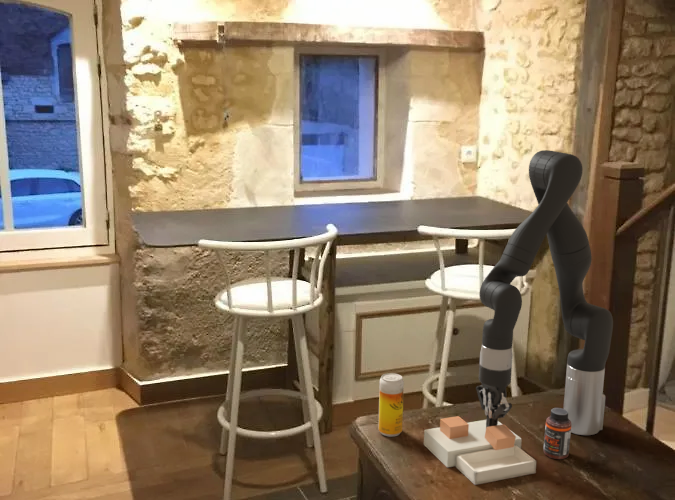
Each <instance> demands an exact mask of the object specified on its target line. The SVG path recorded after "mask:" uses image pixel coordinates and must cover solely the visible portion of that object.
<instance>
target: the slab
mask: <svg viewBox="0 0 675 500" xmlns="http://www.w3.org/2000/svg"><path fill="white" fill-rule="evenodd" d="M467 423H468V424H469V428H468V436H465V437H459V438H453V439H449V438H448V437H447V436H446V435H445V434H444V433H442V432H441V431H440V426H439V427H433V428H428V429H424V431H423V446H424V447H426V448H427V449H428V450H429V451H430V452H431V454H433V455H434V456H435V458H437V459H438V460H439V461H440V462H441V463H442V464H443V465H444V466H445V467H446V468H452V467H456V455H461V454H466V453H472V452H477V451H483V450H489V449H494V448H493V447H492V446H491V445H490V443H489V442H488V441H487V440H486V439H485V432H486V419H481V420H477V421H470V422H467ZM502 424H503V423H501V422H500V421H499V420H498V424H497V425H502ZM509 430H510V431H511V432H512V433H513V434H514V435H515V436H516V438H515V443H514V445H517V446H518V447H519V448H520V449H522V438H521V436H519V435H518V434H516V433H515V432H513V431H512V430H511V429H510V428H509Z"/></svg>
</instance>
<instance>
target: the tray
mask: <svg viewBox="0 0 675 500" xmlns="http://www.w3.org/2000/svg"><path fill="white" fill-rule="evenodd" d="M455 468H456V469H457V470H458V471H459V472H461V474H462V475H464V477H466V479H468V480H469V481H470V482H471V483H472V484H473V485H474V486H477V485H482V484H487V483H491V482H496V481H501V480H502V481H503V480H506V479H512V478H517V477H522V476H528V475H533V474H536V473H537V470H536V469H537V460H536V459H535V458H533V457H532V456H530V455H529V454H528V452H526V451H524V449H522V448H521V449H520V448H519V447H518V446H517V445H514V447H511V448H505V449H499V450H495V449H489V450H483V451H477V452H472V453H466V454H461V455H456V466H455Z"/></svg>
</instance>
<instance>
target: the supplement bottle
mask: <svg viewBox="0 0 675 500" xmlns="http://www.w3.org/2000/svg"><path fill="white" fill-rule="evenodd" d="M544 427H545V428H544V440H543V453H544V455H545V456H547V457H548V458H550V459H554V460H564V459H567V458H568V457H569V455H570V454H569V453H570V445H571V444H570V442H571V436H572V434H571V421H570V420H569V419H568V411H567V410H565V409H564V408H561V407H554V408H552V409H550V416H548V417H546V421H545V426H544Z"/></svg>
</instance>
